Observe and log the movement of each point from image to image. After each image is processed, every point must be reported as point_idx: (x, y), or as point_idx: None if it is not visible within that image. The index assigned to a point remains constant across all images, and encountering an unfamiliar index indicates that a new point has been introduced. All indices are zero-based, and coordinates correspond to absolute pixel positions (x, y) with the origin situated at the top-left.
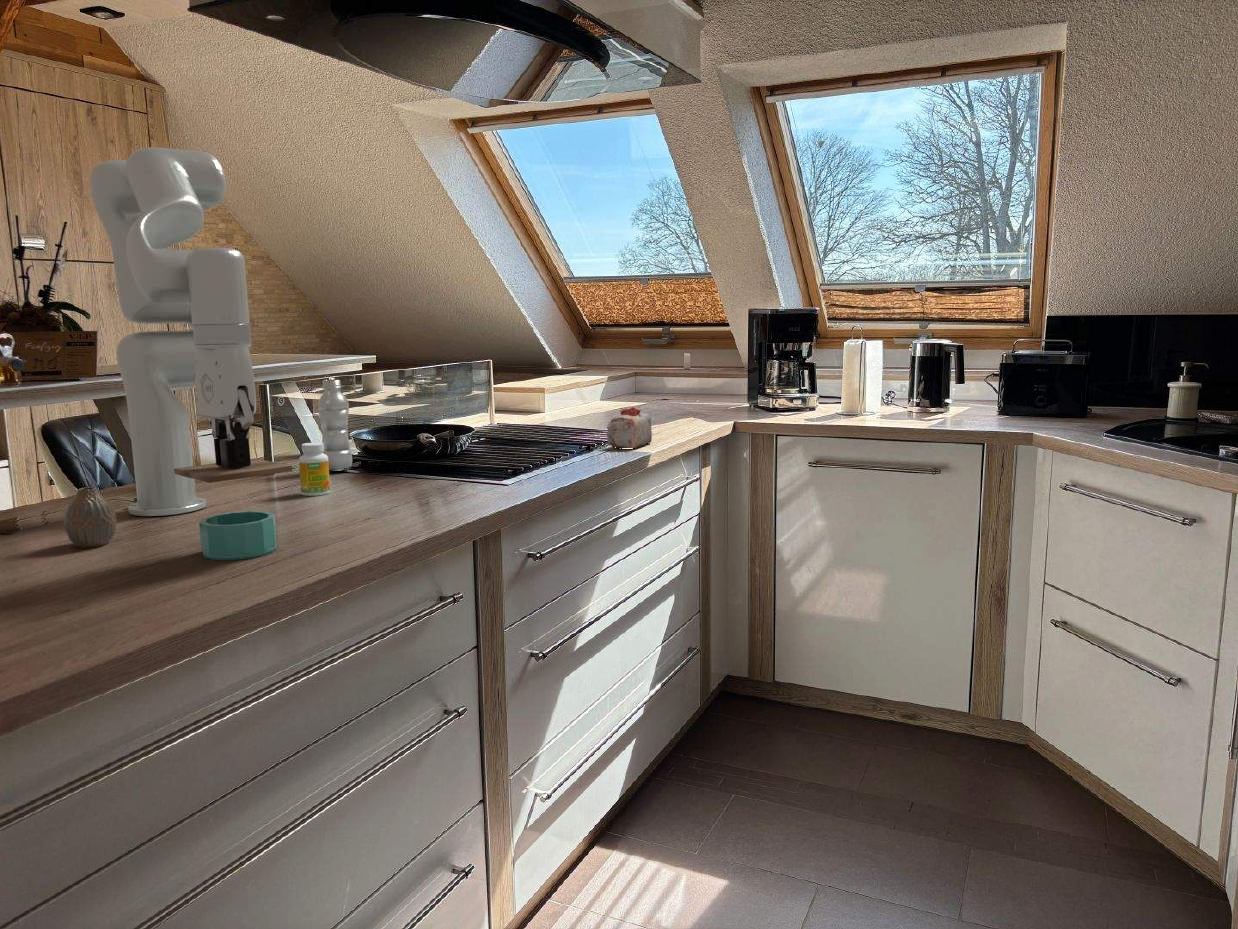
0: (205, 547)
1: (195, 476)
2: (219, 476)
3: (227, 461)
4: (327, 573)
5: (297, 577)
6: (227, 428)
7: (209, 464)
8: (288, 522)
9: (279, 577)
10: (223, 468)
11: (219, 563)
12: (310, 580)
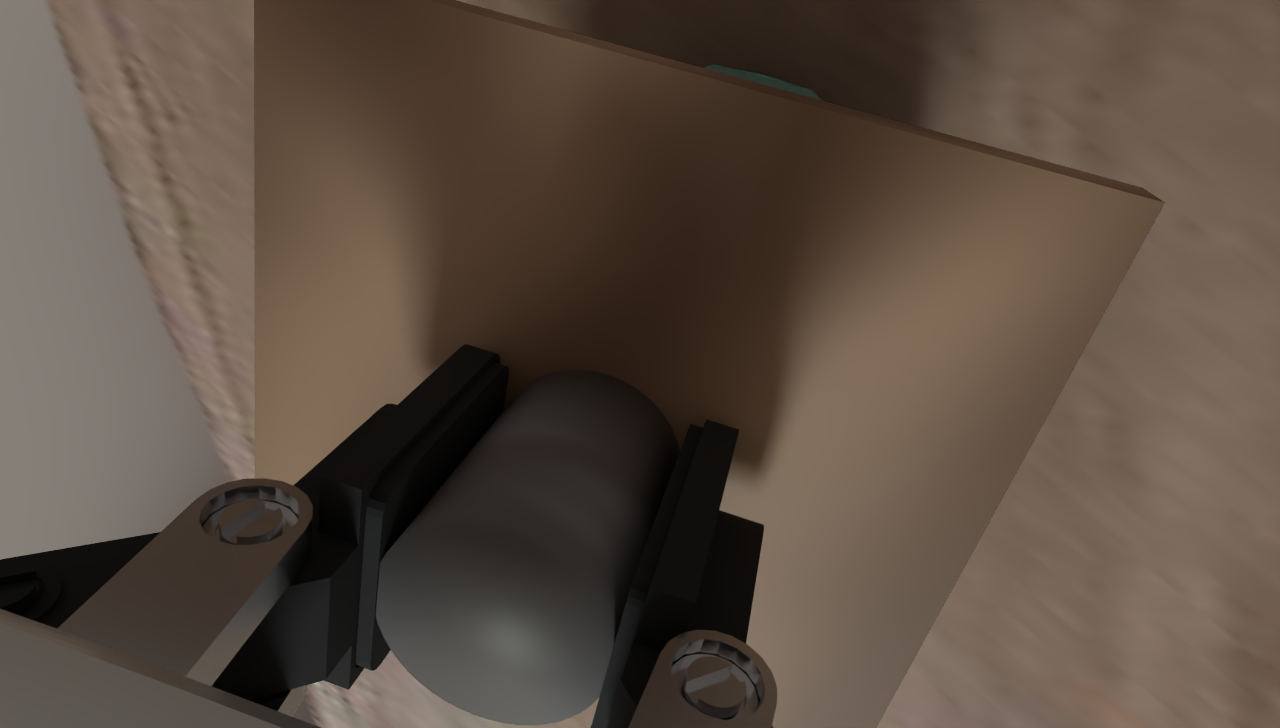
0: (753, 77)
1: (577, 38)
2: (262, 67)
3: (465, 371)
4: (127, 146)
5: (153, 46)
6: (207, 600)
7: (967, 517)
8: (965, 711)
9: (202, 8)
10: (594, 371)
11: (620, 40)
12: (84, 40)
